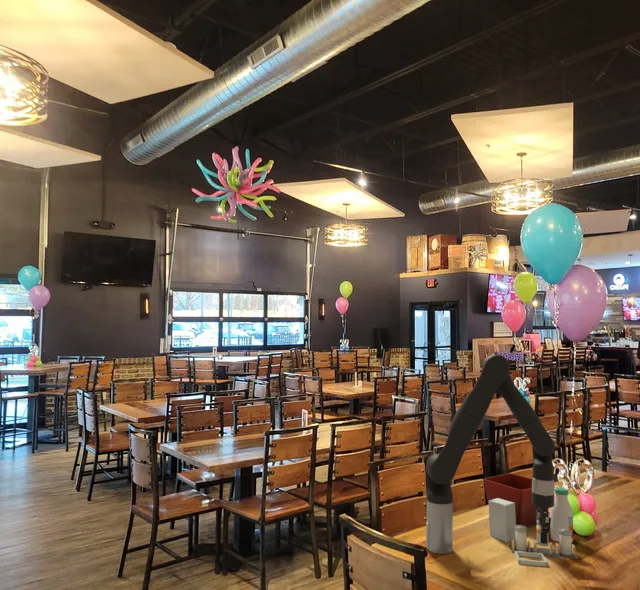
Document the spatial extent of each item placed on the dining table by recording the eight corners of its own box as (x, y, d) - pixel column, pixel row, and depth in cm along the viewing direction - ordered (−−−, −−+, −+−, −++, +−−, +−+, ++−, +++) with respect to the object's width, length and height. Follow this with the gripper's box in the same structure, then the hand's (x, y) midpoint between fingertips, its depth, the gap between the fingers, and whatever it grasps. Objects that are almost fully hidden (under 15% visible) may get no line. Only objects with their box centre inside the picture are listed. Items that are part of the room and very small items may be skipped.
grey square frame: (518, 568, 186) (518, 559, 186) (514, 559, 193) (514, 550, 193) (547, 570, 184) (547, 562, 184) (542, 561, 192) (542, 553, 192)
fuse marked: (537, 545, 194) (537, 522, 195) (534, 541, 198) (535, 518, 199) (549, 546, 194) (550, 523, 194) (547, 542, 198) (547, 519, 198)
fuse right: (561, 555, 193) (561, 532, 194) (558, 551, 197) (557, 528, 198) (573, 556, 193) (573, 532, 193) (569, 551, 197) (569, 528, 197)
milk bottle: (563, 548, 204) (563, 492, 205) (546, 541, 210) (546, 487, 212) (577, 545, 207) (577, 490, 208) (560, 537, 214) (560, 485, 215)
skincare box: (516, 543, 207) (516, 502, 208) (506, 546, 204) (506, 505, 205) (498, 536, 214) (498, 496, 215) (488, 539, 211) (488, 499, 212)
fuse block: (512, 557, 194) (512, 544, 195) (508, 549, 201) (508, 537, 201) (579, 563, 191) (579, 549, 191) (573, 554, 198) (573, 542, 198)
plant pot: (550, 524, 228) (549, 483, 229) (521, 533, 217) (521, 490, 218) (510, 511, 244) (510, 472, 245) (481, 519, 233) (482, 478, 234)
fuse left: (516, 551, 196) (516, 528, 196) (514, 547, 200) (514, 524, 200) (528, 552, 195) (528, 529, 195) (525, 548, 199) (525, 525, 199)
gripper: (527, 485, 205) (527, 532, 204) (536, 496, 191) (535, 547, 190) (549, 486, 204) (548, 534, 203) (559, 498, 190) (558, 549, 189)
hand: (542, 540), depth 196 cm, fingers closed on fuse marked, 4 cm apart
